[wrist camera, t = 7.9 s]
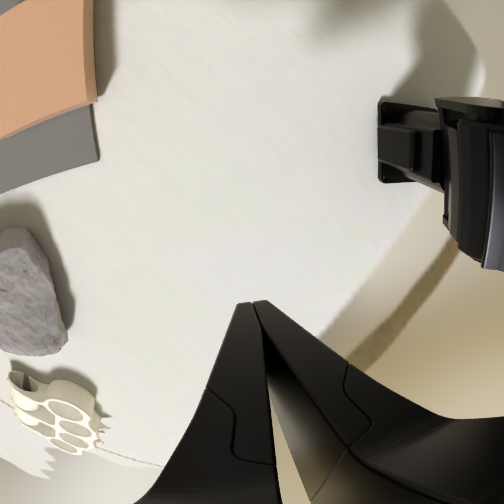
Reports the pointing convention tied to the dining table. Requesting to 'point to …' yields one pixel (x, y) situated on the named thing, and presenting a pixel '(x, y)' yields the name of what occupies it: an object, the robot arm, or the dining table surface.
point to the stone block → (27, 298)
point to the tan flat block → (45, 62)
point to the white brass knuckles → (57, 412)
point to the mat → (46, 143)
